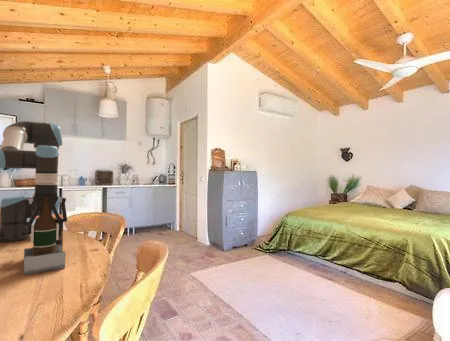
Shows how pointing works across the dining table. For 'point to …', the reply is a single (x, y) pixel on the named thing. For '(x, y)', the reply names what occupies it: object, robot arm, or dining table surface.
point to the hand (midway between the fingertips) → (44, 240)
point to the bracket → (43, 261)
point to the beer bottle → (44, 231)
